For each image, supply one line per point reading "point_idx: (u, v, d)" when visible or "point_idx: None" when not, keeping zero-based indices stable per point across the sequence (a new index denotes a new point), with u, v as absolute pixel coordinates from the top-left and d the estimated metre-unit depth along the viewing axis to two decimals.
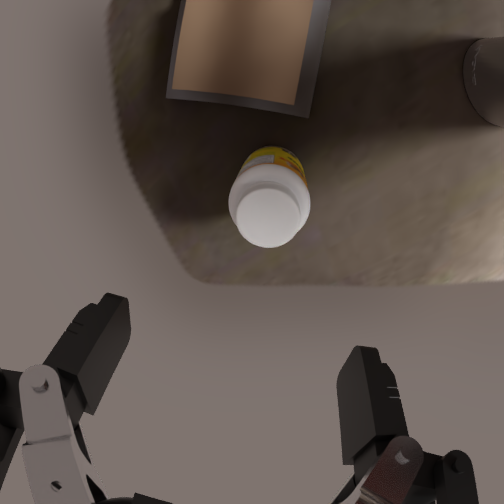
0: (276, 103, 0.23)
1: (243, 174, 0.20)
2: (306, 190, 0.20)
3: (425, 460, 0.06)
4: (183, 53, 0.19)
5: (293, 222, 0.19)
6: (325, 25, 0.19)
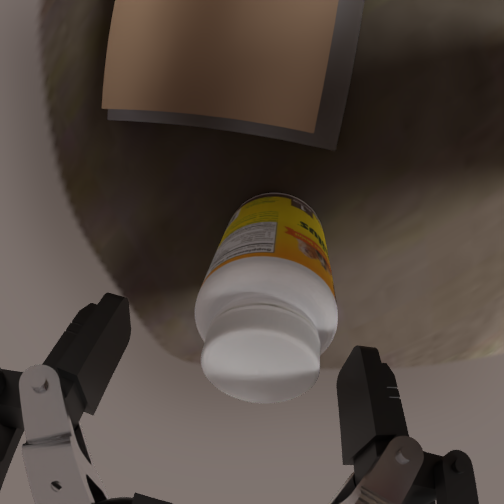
0: None
1: (216, 276, 0.11)
2: (333, 304, 0.11)
3: (425, 460, 0.06)
4: (117, 46, 0.10)
5: (306, 377, 0.10)
6: None
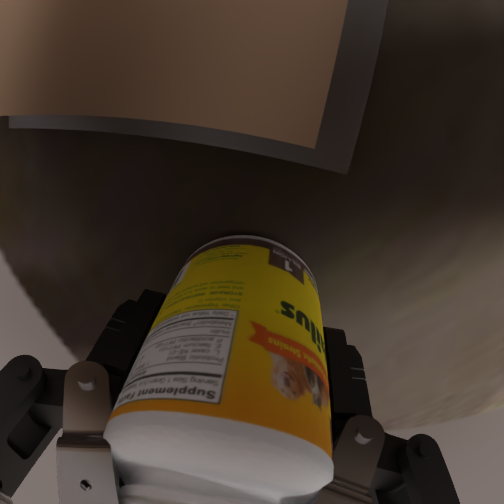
0: None
1: (118, 432, 0.05)
2: (327, 476, 0.05)
3: (389, 443, 0.07)
4: None
5: None
6: None
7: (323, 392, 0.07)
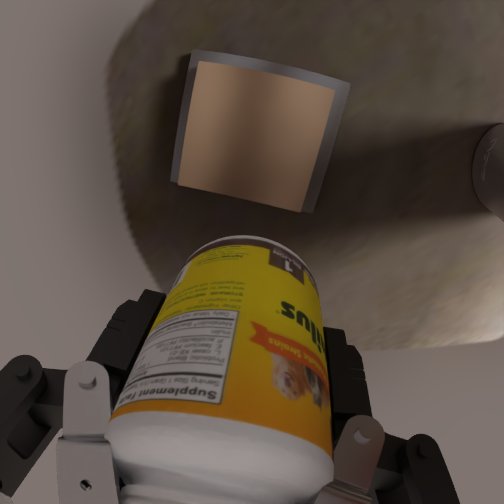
0: None
1: (119, 433, 0.05)
2: (327, 476, 0.05)
3: (389, 443, 0.07)
4: (190, 148, 0.21)
5: None
6: (340, 116, 0.21)
7: (323, 392, 0.07)
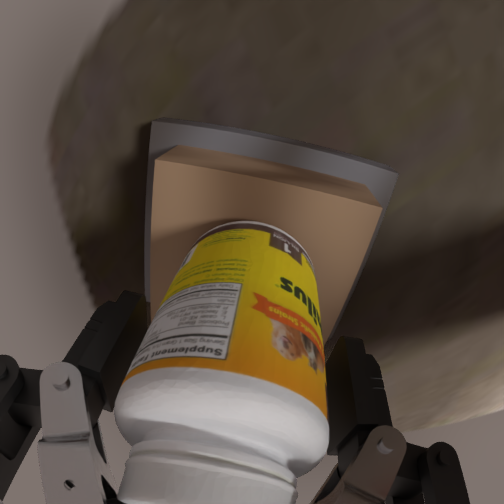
0: None
1: (133, 390, 0.06)
2: (323, 434, 0.06)
3: (409, 451, 0.07)
4: (160, 289, 0.14)
5: None
6: (379, 223, 0.15)
7: (319, 359, 0.08)
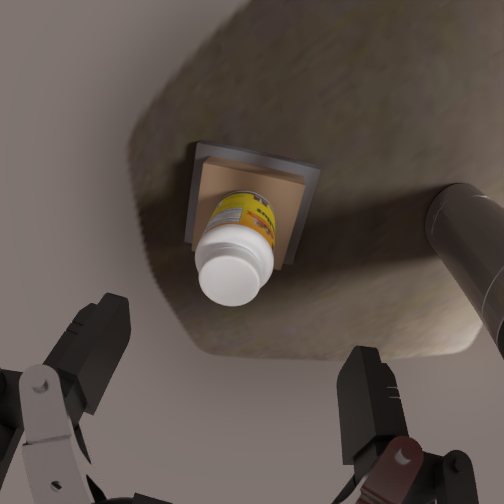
0: None
1: (208, 234, 0.21)
2: (269, 251, 0.21)
3: (425, 460, 0.06)
4: (199, 226, 0.30)
5: (253, 286, 0.20)
6: (312, 195, 0.30)
7: (270, 233, 0.23)
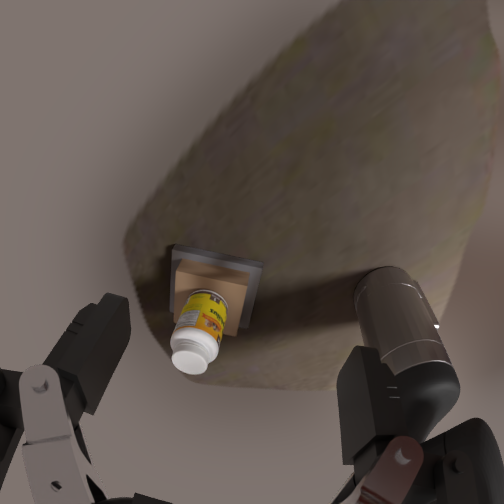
0: None
1: (176, 332, 0.33)
2: (214, 343, 0.33)
3: (425, 460, 0.06)
4: (177, 308, 0.41)
5: (203, 366, 0.32)
6: (257, 285, 0.42)
7: (217, 328, 0.35)
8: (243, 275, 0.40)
